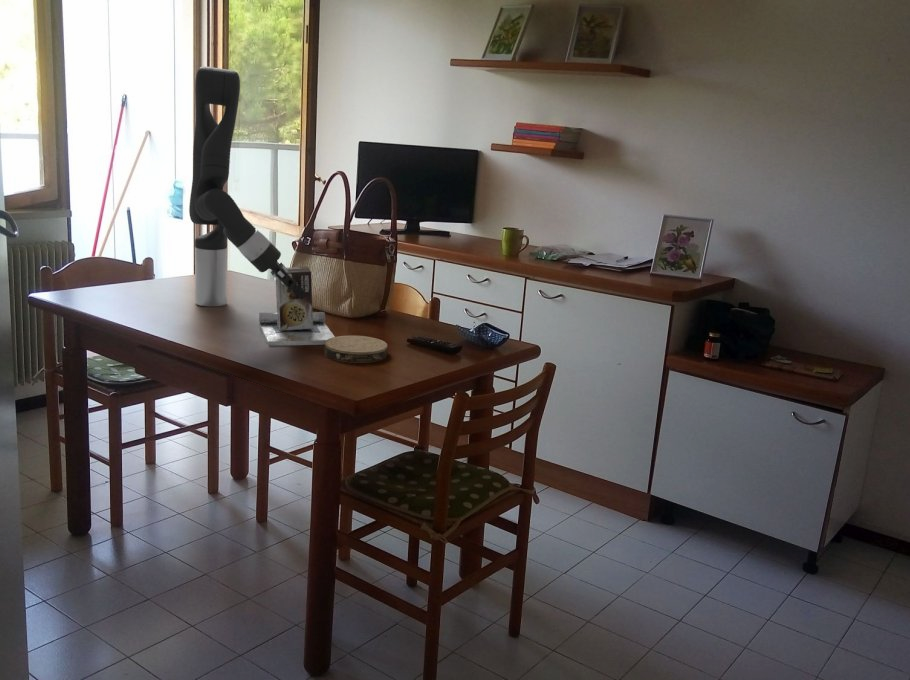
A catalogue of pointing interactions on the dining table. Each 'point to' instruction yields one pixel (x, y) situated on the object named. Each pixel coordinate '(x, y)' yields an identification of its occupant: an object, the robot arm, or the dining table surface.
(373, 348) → the beige tambourine
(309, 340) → the hinge plate
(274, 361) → the dining table surface
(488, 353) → the dining table surface
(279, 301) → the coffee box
